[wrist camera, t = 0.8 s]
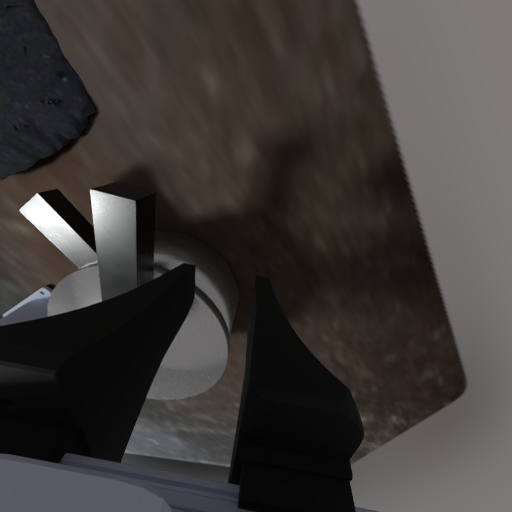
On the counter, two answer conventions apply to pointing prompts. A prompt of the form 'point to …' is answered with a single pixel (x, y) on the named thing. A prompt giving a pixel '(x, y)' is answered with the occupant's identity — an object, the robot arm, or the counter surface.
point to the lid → (136, 274)
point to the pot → (165, 248)
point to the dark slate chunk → (35, 90)
